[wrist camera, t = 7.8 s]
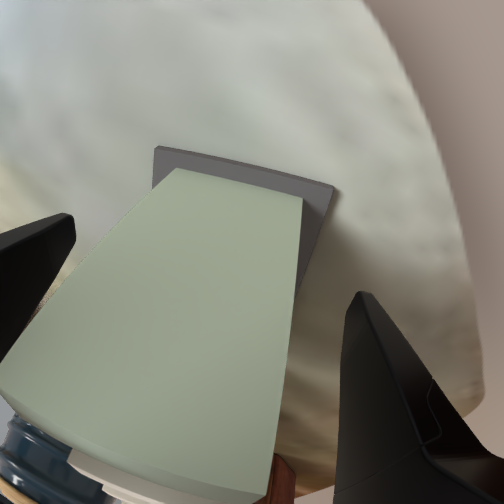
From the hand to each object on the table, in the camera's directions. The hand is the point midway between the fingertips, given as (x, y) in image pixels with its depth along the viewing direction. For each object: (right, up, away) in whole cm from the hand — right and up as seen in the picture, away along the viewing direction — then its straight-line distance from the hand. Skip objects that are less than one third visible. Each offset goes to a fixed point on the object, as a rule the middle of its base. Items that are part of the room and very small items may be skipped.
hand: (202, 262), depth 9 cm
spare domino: (+1, +2, +3) cm, 4 cm away
